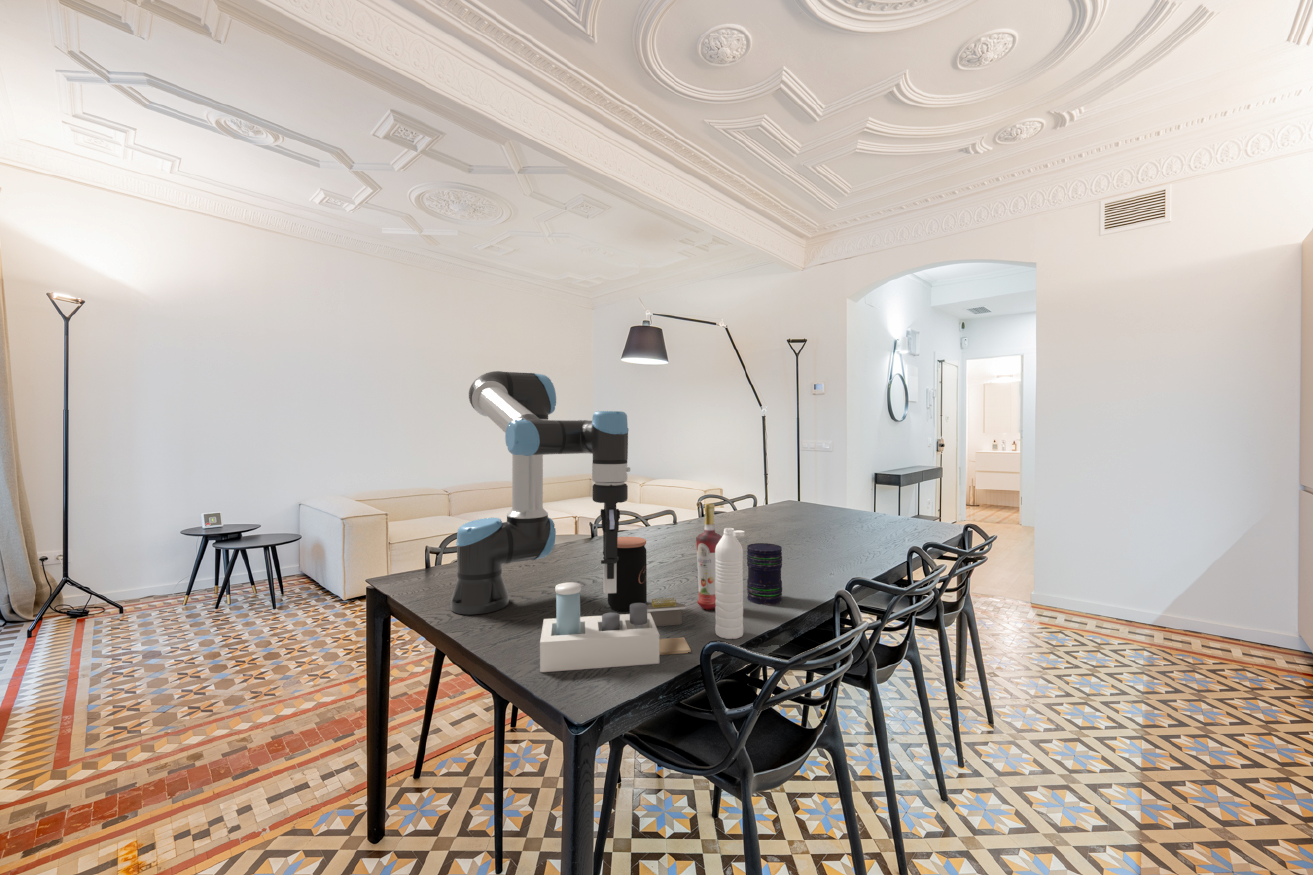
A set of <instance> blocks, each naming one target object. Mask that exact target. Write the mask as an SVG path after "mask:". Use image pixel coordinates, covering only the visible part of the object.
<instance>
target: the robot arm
mask: <svg viewBox="0 0 1313 875" xmlns="http://www.w3.org/2000/svg"><path fill="white" fill-rule="evenodd" d="M468 400H469V403H470V405H471V407H472V408H473V410H474V411H476V412H477V414H479V415H481V416H484V417H488V418H489V419H490V420H491V421H492V422H493V423H495V425H496V426H498V428H499V429H500V430H502V432H504V433H505V437H504V440H505V445H506V447H507V450H508V452H509V453H510V454H511V455H512V456H511V457H512V462H511V464H512V465H511V466H512V468H511V471H512V472H511V473H512V475H511V476H512V478H511V479H512V480H511V481H512V483H511V486H512V487H511V488H512V490H511V492H512V493H511V494H512V497H511V502H512V503H511V504H512V505H511V506H512V508H511V509H510V510H509V512H508V513H507V514H506V521H505V522H503V521H502V519H501V518H499V517H489V518H487V517H486V518H485V517H484V518H480V519H479V518H478V519H475V520H471V521H468V522H465V523H463V524H461V526H459V527H458V529H457V531H456V532H457V535H456V544H455V545H456V571H457V572H456V574H457V575H456V578H457V580H456V583H455V586H454V589H453V592H452V595H451V598H450V610H451V612H453V613H455V614H460V615H467V616H468V615H470V616H471V615H482V614H488V613H489V614H490V613H493V612H496V611H499V610H501V609H504V608H506V607H507V606H508V605H509V603H510V602H509V599H510V598H509V592H508V589H507V586H506V584H505V581H504V578H503V571H502V570H503V566H504V565H506V564H507V565H508V564H515V563H521V562H528V561H536V560H539V559H543V558H546V557H548V556H549V555H550V554H551V552H552V551H553V550H554V546H555V543H556V537H557V535H556V533H557V532H556V528H555V522H554V520H553V519H552V518H551V517H549V512H548V511H546V510H545V509H544V506H543V504H544V503H543V502H544V501H543V497H544V489H543V488H544V481H543V480H544V478H543V477H544V468H543V467H544V459H543V458H544V455H573V454H574V455H575V454H577V455H578V454H590V455H591V454H592V464H591V465H592V466H591V467H592V468H591V472H592V473H591V478H592V482H593V483H594V484H592V501H593V502H594V503H599V504H603V508H601V509H600V518H601V529H602V541H603V542H602V543H603V544H602V545H603V546H602V550H603V551H602V555H603V559H601V560H600V564H601V565H603V576H602V577H603V588H602V589H603V594H608V593H616V571H617V561H618V560H619V557H617V540H618V537H619V536H618V533H619V529H620V526H619V525H620V523H619V522H620V519H621V513H620V512H621V510H620V509H619V508H617V504H618V503H620V504H621V503H625V502H627V501H628V497H629V496H628V494H629V493H628V488H629V487H628V485H627V483H626V482H627V481H628V473H629V472H631V467H629V466H628V460H629V458H628V457H629V456H628V455H629V428H628V426H629V425H628V415H627V413H626V412H625V411H622V410H620V411H619V410H618V411H617V410H614V411H613V410H605V411H604V410H600V411H599V410H598V411H595V412H594V413H593V414H592V420H588V419H584V420H582V419H578V420H575V419H574V420H570V419H569V420H563V419H562V420H560V419H559V420H558V419H557V420H556V419H551V420H550V419H549V415H551V414H553V413H554V412H555V410H556V406H557V393H556V388H555V385H554V383H553V382H552V379H551V378H550V377H549V376H547V375H545V374H541V373H535V372H518V371H517V372H514V371H513V372H512V371H503V370H502V371H500V370H496V371H489V372H485V373H483V374H481V375H479V376H477V378H475V379H474V381H473V382H472V383H471V385H470V387H469V389H468Z"/></svg>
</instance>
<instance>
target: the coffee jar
mask: <svg viewBox="0 0 1313 875" xmlns="http://www.w3.org/2000/svg"><path fill="white" fill-rule="evenodd" d="M646 545H647V540H646V538H643V537H639V536H638V537H637V536H618V540H617V557H619V560H618V561H617V571H616V593H607V604H608V606H609V608H610V609H611V610H614V611H617V612H623V613H624V612H625V613H627V612H629V613H630V605H631V604H633V603H645V604H647V600H648V599H647V598H648V597H647V596H648V594H647V593H648V591H647V587H648V586H647V584H648V583H647V577H648V576H647V575H648V574H647V573H648V572H647V568H648V567H647V548H646Z"/></svg>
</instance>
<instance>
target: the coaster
mask: <svg viewBox="0 0 1313 875" xmlns="http://www.w3.org/2000/svg"><path fill="white" fill-rule="evenodd" d="M691 651H692V650H691V648H690V646H689V644H688V642H687V640H686V638H685V637H683V636H682V637H671V638H670V637H669V638H659V656H663V655H664V656H665V655H676V654H689V653H688V652H691Z"/></svg>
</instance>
